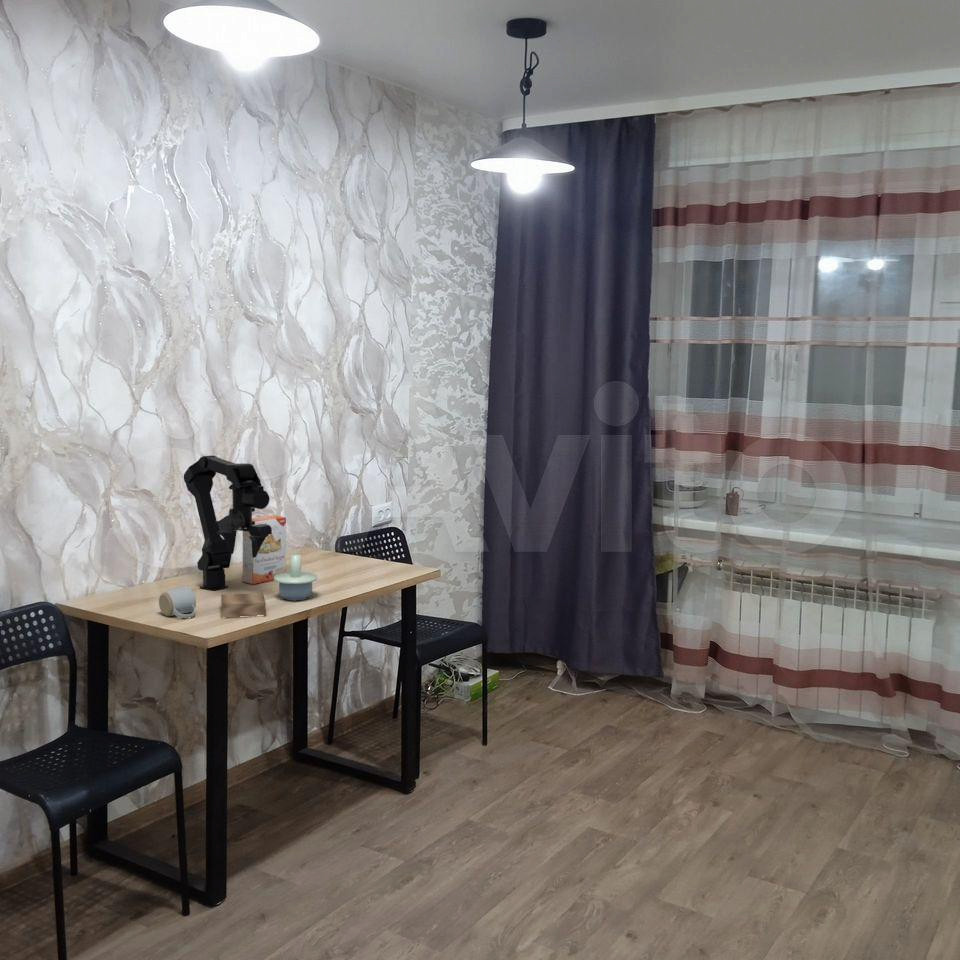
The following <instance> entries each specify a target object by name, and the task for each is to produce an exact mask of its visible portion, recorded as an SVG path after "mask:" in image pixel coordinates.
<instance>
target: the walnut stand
mask: <svg viewBox="0 0 960 960" xmlns="http://www.w3.org/2000/svg"><path fill="white" fill-rule="evenodd" d="M220 598H221V599H220V601H221V603H220V604H221V605H220V607H221V609H220V610H221V618H222V617H240V616H257V615H266V616H267V614H266V610H267V609H266V605H267V604H266V599H265V596H264V592H252V593H251V592H250V593H249V592H248V593H230V594H221V596H220Z"/></svg>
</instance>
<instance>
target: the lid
mask: <svg viewBox="0 0 960 960" xmlns="http://www.w3.org/2000/svg"><path fill="white" fill-rule="evenodd" d="M289 558H290V561H289V564H290V566H289V567H290V569H289V572H288V571H287V572H285V573H281V574H277V575H275V576H274V580H273V581H274V582H276V583H278V584H279V583H284V584H304V583H310V582H312V583H313V582H315V581H317V580H318V575H317V574H316V573H313V572H305V571H302V554H299V553H293V554H290V555H289Z"/></svg>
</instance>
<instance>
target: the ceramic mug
mask: <svg viewBox="0 0 960 960" xmlns="http://www.w3.org/2000/svg"><path fill="white" fill-rule="evenodd" d="M196 599H197V597H196V595H195V592H194V591H193V589H192V588H191V587H190V586H189V585H188V586H187V585H183V586H180V587H178V588H174V589H169V590H167V591H164V592H162V593H161V594H160V595H159V598H158V606H159V609H160V612H161V613H162V614H163V615H164V616H166V617H174V615H175V617H177V618H178V619H181V618H189V617H192V618H194V617H195V615H196V611H197V610H196V608H197V607H196V606H197V600H196ZM185 613H186V614H185ZM193 616H194V617H193Z"/></svg>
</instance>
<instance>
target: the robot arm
mask: <svg viewBox="0 0 960 960" xmlns="http://www.w3.org/2000/svg"><path fill="white" fill-rule="evenodd" d="M217 474H220V475H223V476H225V477H226V480H227V481H229V482H230V483H231V484H230V485H229V487H228V489H229V490H232V494H231V495H232V498H231V499H232V507H231V508H230V509H229V510H228V514H227V515H226V516H224V517H223V518H221V519H220V520H217V516H216V512H215V508H214V503H213V499H212V496H211V495H212V494H211V492H212V489H213V485H214V480H213V479H214V478H215V477H216V475H217ZM183 481H184V483H185V486H186V488H187V491H188V492H189V493H190V494H191V496H193V497H194V499H195V505H196V508H197V512H198V513H197V514H198V517H199V520H200V522H199V523H200V526H201V530H202V534H203V539H204V542H203V545H202V547H201V556H200V558H199V559H198V561H197V563H196V565H197V569H198V570H199V571H202V577H203V578H202V584H203V585H200V586H199V588H200V589H202V588H204V589H203V590H208V589H209V591H217V589H218V590H221V588H222V589H225V587H226V588H228V587H229V585H228V584H226V573H225V569H229V568H230V566H231V565H230V564H231V560H232V556H233V554H234V552H235V547H236V539H237V532H238V531H239V532H240V531H241V532H243V531H247V532H249V533H250V535H251V536H249V538H250V540H251V541H252V556H253V558H255V557H256V556H257V554H258V552H259V549H260V547H261V545H262V543H263V542H264V540H265V538H266V537H268V536H269V534H272V528H271V526H270V525H265V524H258V525H255V521H252V519H253V512H255V511H256V509H257V510H264V509H265V508H267V507H268V505H269V503H270V496H269V494H268V492H267V491H266V490H265V489H264V486H263V485H262V482H261V479H260V477H259V476H258V473H257V470H256V469H255V466H254V465H253V464H252V463H247V462H246V463H244V462H243V463H236V462H232V461H229V460H226V459H223V458H220V457H218V456H217V455H203V456H200V457H199V458H198V460H197V461H195V462H194V463H193V464H191V465H190V466H188V468H187V469H186V470H185V472H184V473H183ZM252 525H254V526H252ZM245 528H247V529H245Z"/></svg>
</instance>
